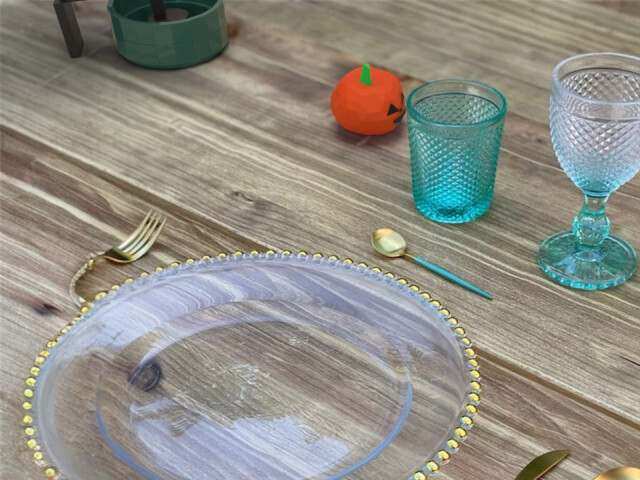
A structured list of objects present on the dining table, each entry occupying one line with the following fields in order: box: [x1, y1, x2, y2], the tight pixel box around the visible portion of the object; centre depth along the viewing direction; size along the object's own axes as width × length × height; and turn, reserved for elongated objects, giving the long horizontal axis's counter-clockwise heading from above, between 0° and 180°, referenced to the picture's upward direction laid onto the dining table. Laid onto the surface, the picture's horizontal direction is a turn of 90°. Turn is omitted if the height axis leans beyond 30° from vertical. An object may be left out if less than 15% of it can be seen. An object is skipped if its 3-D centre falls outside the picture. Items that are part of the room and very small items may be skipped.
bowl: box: [106, 0, 230, 70], centre depth 101 cm, size 12×12×5 cm
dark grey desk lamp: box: [52, 0, 190, 58], centre depth 100 cm, size 13×4×7 cm, turn 96°
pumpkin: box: [330, 62, 407, 136], centre depth 88 cm, size 7×8×6 cm
